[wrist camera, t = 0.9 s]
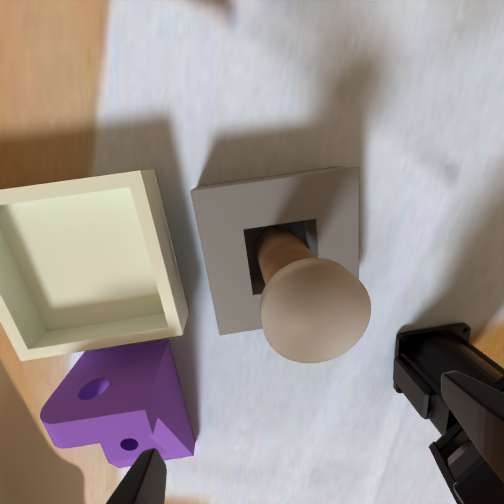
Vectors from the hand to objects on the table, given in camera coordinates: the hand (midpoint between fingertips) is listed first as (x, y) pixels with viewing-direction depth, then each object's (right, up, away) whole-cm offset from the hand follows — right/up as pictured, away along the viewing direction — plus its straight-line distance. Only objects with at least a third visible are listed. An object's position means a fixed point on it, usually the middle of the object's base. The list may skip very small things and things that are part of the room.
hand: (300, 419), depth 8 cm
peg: (0, +6, +12) cm, 13 cm away
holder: (0, +6, +12) cm, 13 cm away
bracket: (-11, -8, +16) cm, 21 cm away
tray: (-13, +5, +11) cm, 18 cm away
